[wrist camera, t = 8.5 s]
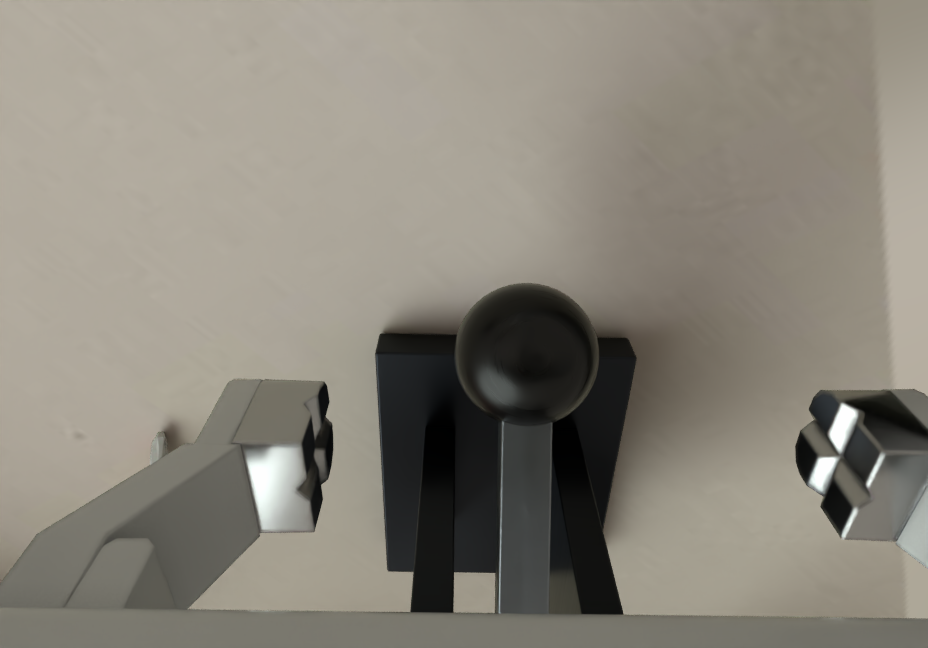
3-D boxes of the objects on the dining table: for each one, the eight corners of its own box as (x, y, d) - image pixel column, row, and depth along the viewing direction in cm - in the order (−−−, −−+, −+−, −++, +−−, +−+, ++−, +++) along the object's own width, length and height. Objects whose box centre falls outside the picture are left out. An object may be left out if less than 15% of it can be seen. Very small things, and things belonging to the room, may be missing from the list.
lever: (455, 286, 15) (455, 275, 12) (583, 289, 15) (617, 278, 12) (445, 772, 15) (443, 888, 12) (575, 773, 15) (606, 890, 12)
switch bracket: (379, 332, 20) (292, 722, 10) (628, 337, 20) (802, 727, 10) (390, 546, 25) (340, 952, 15) (589, 549, 25) (677, 953, 15)
